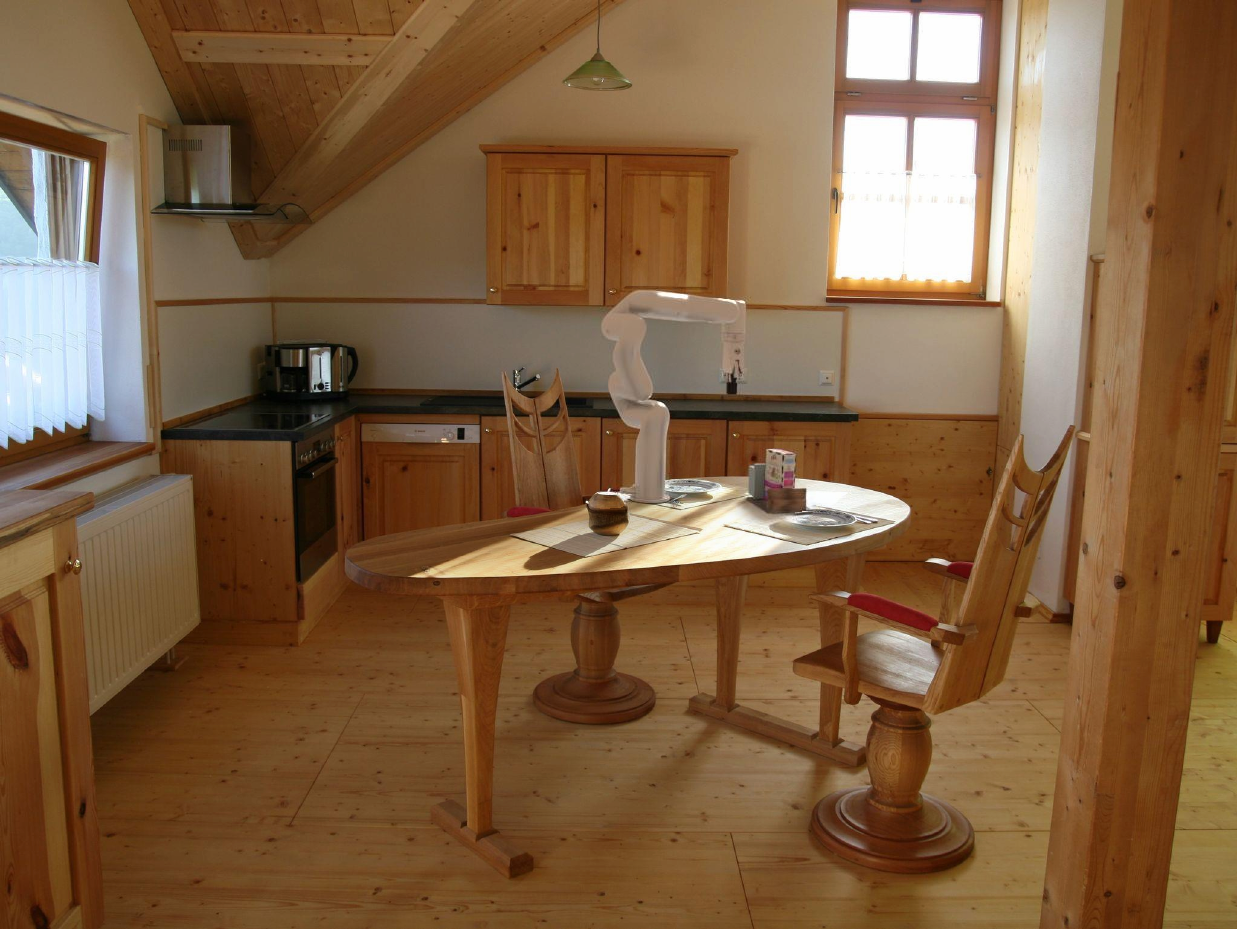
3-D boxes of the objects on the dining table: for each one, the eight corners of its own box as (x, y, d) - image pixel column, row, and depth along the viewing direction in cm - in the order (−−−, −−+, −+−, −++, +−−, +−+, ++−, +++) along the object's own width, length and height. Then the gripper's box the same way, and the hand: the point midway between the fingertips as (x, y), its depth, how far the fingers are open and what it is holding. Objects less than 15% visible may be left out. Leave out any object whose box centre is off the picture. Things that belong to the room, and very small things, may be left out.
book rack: (768, 513, 321) (769, 491, 320) (746, 499, 343) (747, 478, 342) (812, 512, 324) (813, 490, 323) (788, 498, 345) (789, 477, 344)
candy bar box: (795, 506, 330) (797, 453, 327) (780, 507, 328) (782, 454, 325) (777, 499, 340) (779, 448, 337) (763, 500, 338) (765, 448, 335)
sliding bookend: (753, 498, 338) (755, 464, 337) (745, 493, 347) (746, 459, 346) (790, 497, 341) (791, 463, 339) (780, 492, 350) (781, 459, 348)
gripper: (751, 339, 344) (749, 396, 347) (737, 337, 359) (735, 392, 362) (728, 339, 343) (726, 396, 346) (716, 337, 357) (714, 392, 360)
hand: (731, 394), depth 354 cm, fingers closed
